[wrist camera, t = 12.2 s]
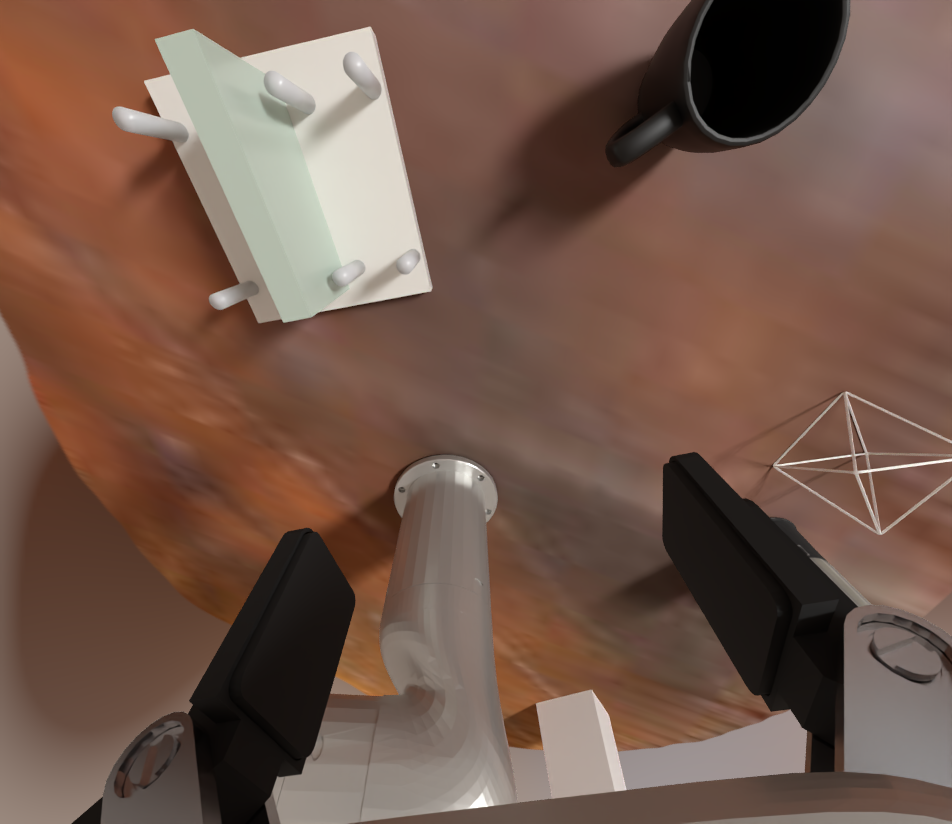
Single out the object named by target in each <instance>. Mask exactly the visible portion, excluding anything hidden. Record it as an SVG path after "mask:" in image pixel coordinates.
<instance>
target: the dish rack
mask: <svg viewBox="0 0 952 824" xmlns="http://www.w3.org/2000/svg"><path fill="white" fill-rule="evenodd" d="M241 59H242V60H244V61H246V62H247V63H249V64H250V65H252V66H254V67H255V68H257V69H258V70H260V71H262V72H263V73H265V76H264V85H265V88H266V90H267V91H268V93H269V94H270V95H272V96H273V97H275V98H277V99H279V100H281V101H283V102H285V104H286V107H287V110H288V113H289V115H290V118H291V121H292V124H293V127H294V130H295V133H296V136H297V138H298V141H299V144H300V147H301V150H302V153H303V156H304V159H305V161H306V164H307V167H308V170H309V173H310V176H311V179H312V182H313V184H314V187H315V190H316V193H317V196H318V199H319V202H320V205H321V207H322V210H323V213H324V216H325V219H326V222H327V225H328V228H329V230H330V233H331V236H332V239H333V242H334V245H335V248H336V251H337V253H338V256H339V259H340V262H341V265H342V267H341V268H339V269H337V270H335V271H334V272H333V275H332V279H333V281H334V283H335V284H336V285H338V286H341V287H344V286H346V285H347V284H348V285H349V288H350V289H349V290H348V291H346V292H345V293H344V294H342V295H341V296H340V297H338V298H337V299H336V300H334V301H333V302H332V303H330V304H329V305H328V306H326V307H325V308H324V309H322V310H321V311H320V312H322V311H328V310H333V309H339V308H344V307H349V306H355V305H360V304H365V303H371V302H376V301H382V300H387V299H392V298H398V297H403V296H408V295H414V294H419V293H424V292H430V291H431V290H432V283H431V279H430V275H429V270H428V266H427V261H426V257H425V252H424V248H423V244H422V239H421V235H420V230H419V226H418V221H417V217H416V213H415V208H414V204H413V199H412V195H411V190H410V186H409V182H408V177H407V173H406V168H405V164H404V160H403V155H402V151H401V146H400V142H399V137H398V133H397V129H396V124H395V120H394V115H393V111H392V106H391V102H390V98H389V93H388V89H387V84H386V80H385V75H384V71H383V67H382V62H381V58H380V53H379V49H378V45H377V40H376V36H375V34H374V32H373V30H372V28H371V27H367V28H363V29H359V30H354V31H350V32H346V33H342V34H338V35H334V36H329V37H325V38H321V39H317V40H313V41H309V42H304V43H300V44H296V45H292V46H288V47H284V48H279V49H275V50H271V51H267V52H263V53H259V54H254V55H250V56H246V57H242V58H241ZM144 82H145V85H146V87H147V89H148V91H149V93H150V95H151V97H152V99H153V101H154V104H155V106H156V108H157V110H158V112H159V114H160V116H161V117H157V116H153V115H150V114H146V113H142V112H138V111H135V110H131V109H127V108H124V107H115V108H114V109H113V112H112V115H113V119H114V121H115V123H116V125H117V126H118V127H119V128H120V129H122V130H124V131H127V132H132V133H137V134H142V135H147V136H152V137H157V138H162V139H167V140H171V141H172V142H173V144H174V146H175V148H176V150H177V152H178V154H179V156H180V158H181V161H182V163H183V165H184V167H185V169H186V171H187V173H188V175H189V177H190V180H191V182H192V184H193V186H194V188H195V190H196V192H197V194H198V196H199V199H200V201H201V203H202V205H203V207H204V209H205V211H206V213H207V215H208V218H209V220H210V222H211V224H212V226H213V228H214V230H215V232H216V234H217V237H218V239H219V241H220V243H221V245H222V247H223V249H224V251H225V253H226V256H227V258H228V260H229V262H230V264H231V266H232V268H233V270H234V272H235V275H236V277H237V279H238V281H239V283H240V284H238V285H235V286H233V287H230V288H227V289H225V290H222V291H219V292H216V293H214V294H211V295H210V297H209V302H210V304H211V305H212V306H213V307H214V308H215V309H218V310H222V309H225V308H227V307H229V306H231V305H234V304H236V303H238V302H240V301H243V300H245V299H247V300H248V302H249V304H250V306H251V308H252V310H253V313H254V315H255V317H256V319H257V321H258V323H263V322H269V321H274V320H279V319H281V316H280V314H279V312H278V310H277V308H276V305H275V303H274V301H273V299H272V297H271V294H270V292H269V290H268V288H267V286H266V283H265V281H264V279H263V277H262V275H261V272H260V270H259V268H258V266H257V264H256V261H255V259H254V257H253V255H252V253H251V250H250V248H249V246H248V244H247V242H246V239H245V237H244V235H243V233H242V231H241V228H240V226H239V224H238V222H237V220H236V217H235V215H234V213H233V211H232V209H231V206H230V204H229V202H228V200H227V198H226V195H225V193H224V191H223V189H222V187H221V184H220V182H219V180H218V178H217V176H216V173H215V171H214V169H213V167H212V165H211V162H210V160H209V158H208V156H207V154H206V151H205V149H204V147H203V145H202V143H201V140H200V138H199V136H198V134H197V132H196V129H195V127H194V125H193V123H192V121H191V118H190V116H189V114H188V112H187V110H186V107H185V105H184V103H183V101H182V99H181V96H180V94H179V92H178V90H177V88H176V85H175V83H174V81H173V79H172V77H171V75H167V76H163V77H159V78H154V79H150V80H146V81H144Z"/></svg>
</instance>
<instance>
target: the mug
mask: <svg viewBox="0 0 952 824" xmlns="http://www.w3.org/2000/svg"><path fill="white" fill-rule="evenodd" d="M849 17H850V0H691V2H690V3H689V4H688V5H687V7H686V8H685V9H684V10H683V12H682V13H681V14H680V16H679V17H678V18H677V19H676V21H675V22H674V23H673V25H672V26H671V27H670V29H669V30H668V32H667V33H666V35H665V36H664V38H663V40H662V42H661V44H660V45H659V47H658V49H657V51H656V53H655V55H654V57H653V59H652V60H651V63H650V65H649V67H648V70H647V72H646V74H645V76H644V78H643V81H642V84H641V87H640V90H639V96H638V114H637V115H636V116H634V117H633V118H632V119H630V120H629V121H628V122H627V123H625V124H624V125H623V126H622V127H621V128H620V129H619V130H618V131H617V132H616V133H615V134H614V135H613V136H612V137H611V139H610V140H609V141H608V143H607V144H606V151H605V152H606V156H607V159H608V161H609V163H610V164H611V165H612V166H613V167H622V166H624V165H627V164H629V163H630V162H632V161H634V160H636V159H637V158H639V157H640V156H642V155H643V154H645V153H646V152H648V151H649V150H651V149H652V148H654V147H655V146H656V145H658V144H659V143H661V142H662V143H664V144H665V145H667V146H669V147H672V148H675V149H679V150H682V151H687V152H695V153H714V152H720V151H726V150H731V149H736V148H741V147H746V146H749V145H753V144H757V143H760V142H762V141H764V140H766V139H768V138H770V137H772V136H774V135H776V134H778V133H779V132H780V131H782V130H783V129H784V128H786V127H787V126H788V125H790V124H791V123H792V122H793V121H795V120H796V119H797V118H798V117H799V116H800V115H801V114H802V113H803V112H804V111H805V110H806V109H807V107H808V106H809V105H810V104H811V103H812V102H813V100H814V99H815V98H816V96H817V95H818V93H819V92H820V91H821V89H822V88H823V87H824V85H825V84H826V82H827V80H828V78H829V76H830V74H831V72H832V70H833V68H834V67H835V65H836V63H837V60H838V58H839V55H840V52H841V49H842V46H843V43H844V41H845V38H846V33H847V27H848V22H849Z"/></svg>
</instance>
